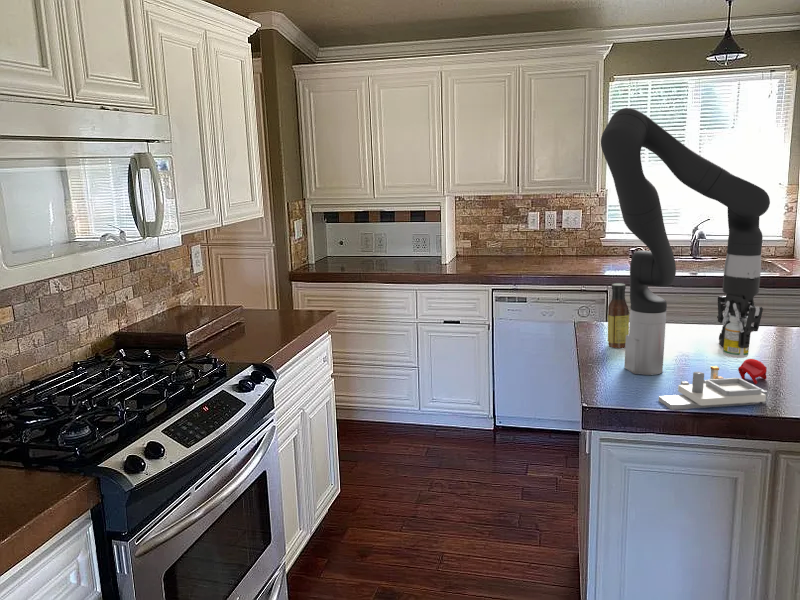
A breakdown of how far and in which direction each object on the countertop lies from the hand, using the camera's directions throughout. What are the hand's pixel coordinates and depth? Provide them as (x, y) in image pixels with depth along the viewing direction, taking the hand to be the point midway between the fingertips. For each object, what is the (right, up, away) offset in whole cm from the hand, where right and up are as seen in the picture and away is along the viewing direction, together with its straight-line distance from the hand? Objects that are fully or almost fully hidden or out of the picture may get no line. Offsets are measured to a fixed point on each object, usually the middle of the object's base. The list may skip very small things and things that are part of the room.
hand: (735, 343), depth 156 cm
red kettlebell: (+13, -11, +17) cm, 24 cm away
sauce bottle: (-11, -4, +51) cm, 52 cm away
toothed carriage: (-3, -13, +3) cm, 13 cm away
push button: (+22, -4, +51) cm, 55 cm away
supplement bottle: (0, -3, +1) cm, 3 cm away
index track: (-5, -14, +5) cm, 15 cm away
